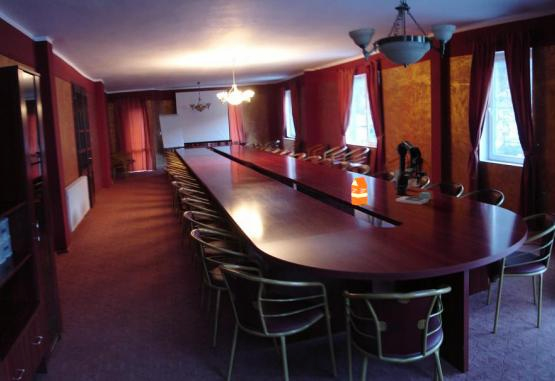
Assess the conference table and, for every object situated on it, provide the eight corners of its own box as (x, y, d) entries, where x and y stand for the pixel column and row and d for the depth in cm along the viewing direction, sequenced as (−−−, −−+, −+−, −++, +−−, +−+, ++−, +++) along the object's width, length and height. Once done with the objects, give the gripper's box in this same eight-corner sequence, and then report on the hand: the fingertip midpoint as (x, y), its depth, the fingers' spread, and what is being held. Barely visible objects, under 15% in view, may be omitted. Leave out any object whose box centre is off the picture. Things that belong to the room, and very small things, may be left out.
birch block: (408, 186, 358) (408, 179, 357) (412, 185, 362) (412, 178, 361) (415, 187, 354) (415, 180, 353) (419, 186, 358) (419, 179, 357)
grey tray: (395, 201, 360) (395, 197, 359) (403, 198, 368) (403, 195, 368) (420, 204, 346) (420, 200, 346) (428, 201, 355) (428, 197, 354)
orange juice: (351, 204, 358) (351, 177, 354) (360, 202, 362) (360, 176, 358) (358, 205, 351) (357, 178, 347) (367, 204, 355) (367, 177, 351)
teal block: (419, 199, 364) (419, 193, 363) (423, 198, 368) (423, 192, 367) (426, 200, 360) (426, 194, 359) (430, 199, 364) (430, 192, 363)
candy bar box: (408, 188, 409) (409, 169, 406) (407, 189, 405) (407, 170, 402) (395, 188, 415) (395, 169, 412) (394, 189, 410) (394, 170, 407)
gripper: (397, 164, 356) (397, 185, 358) (420, 165, 343) (420, 187, 345) (404, 163, 364) (404, 183, 366) (427, 164, 351) (427, 185, 354)
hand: (413, 184), depth 358 cm, fingers closed on birch block, 6 cm apart
